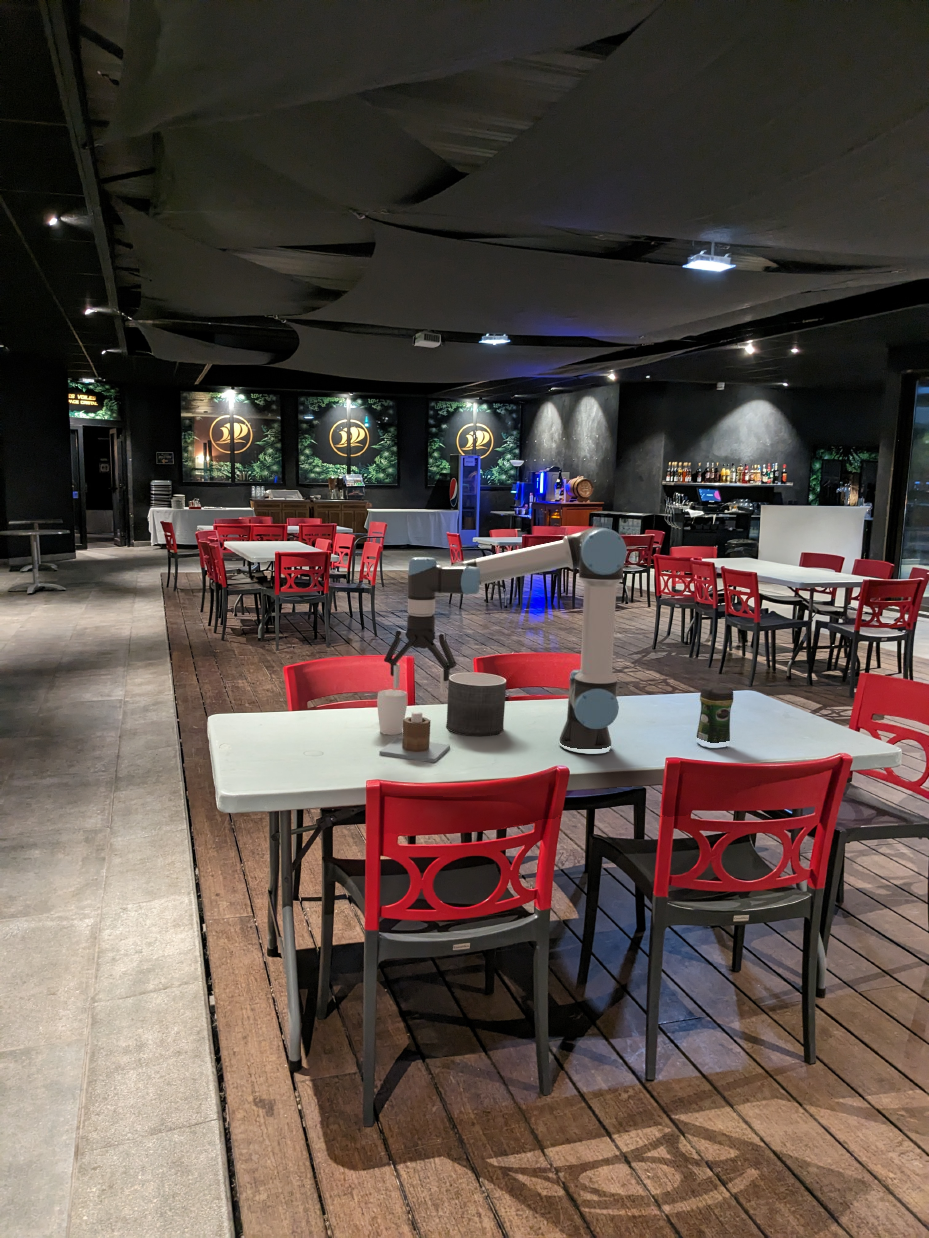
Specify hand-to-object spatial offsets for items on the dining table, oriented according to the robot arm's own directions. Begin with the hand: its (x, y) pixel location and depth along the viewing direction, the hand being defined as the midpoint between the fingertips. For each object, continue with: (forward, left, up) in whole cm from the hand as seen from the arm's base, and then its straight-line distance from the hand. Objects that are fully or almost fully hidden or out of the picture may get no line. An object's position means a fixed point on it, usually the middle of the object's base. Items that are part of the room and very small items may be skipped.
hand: (419, 690), depth 236 cm
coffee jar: (-80, -44, -18) cm, 93 cm away
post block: (0, 0, -18) cm, 18 cm away
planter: (-9, -30, -18) cm, 36 cm away
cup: (+13, -15, -18) cm, 27 cm away
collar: (0, 0, -17) cm, 17 cm away
